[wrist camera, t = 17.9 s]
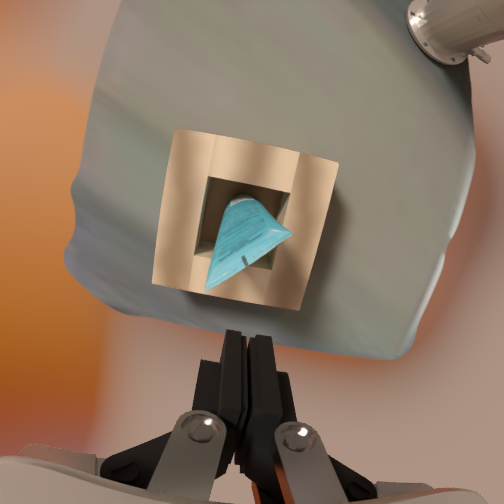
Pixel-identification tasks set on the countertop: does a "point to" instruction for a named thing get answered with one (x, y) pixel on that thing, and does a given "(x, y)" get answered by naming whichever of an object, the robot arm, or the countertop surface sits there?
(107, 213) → the countertop surface
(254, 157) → the socket block
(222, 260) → the tube
